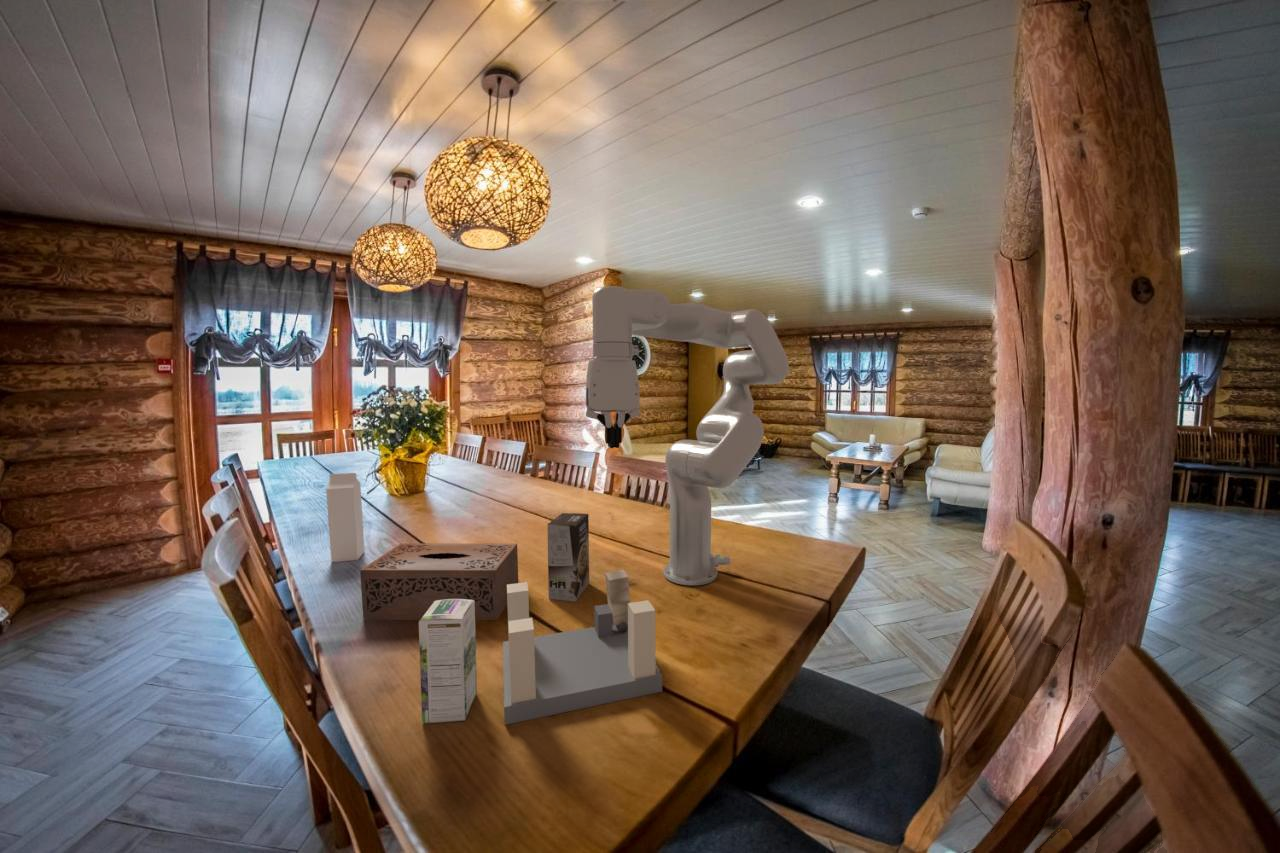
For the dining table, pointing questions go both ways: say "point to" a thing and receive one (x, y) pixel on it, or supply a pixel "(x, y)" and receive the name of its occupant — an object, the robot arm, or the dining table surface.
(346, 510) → the milk
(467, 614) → the syrup box
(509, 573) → the tissue box cover
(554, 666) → the footstool
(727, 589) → the dining table surface
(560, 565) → the coffee box
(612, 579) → the folding leg
